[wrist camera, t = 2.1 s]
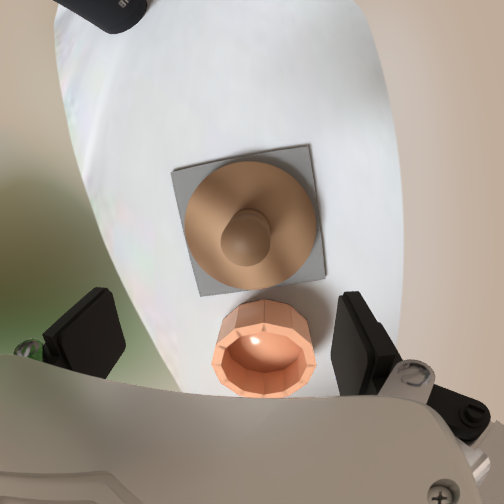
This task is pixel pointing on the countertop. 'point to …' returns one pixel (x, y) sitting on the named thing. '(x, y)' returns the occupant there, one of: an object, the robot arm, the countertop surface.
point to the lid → (250, 225)
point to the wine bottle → (108, 12)
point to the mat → (287, 160)
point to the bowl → (264, 350)
